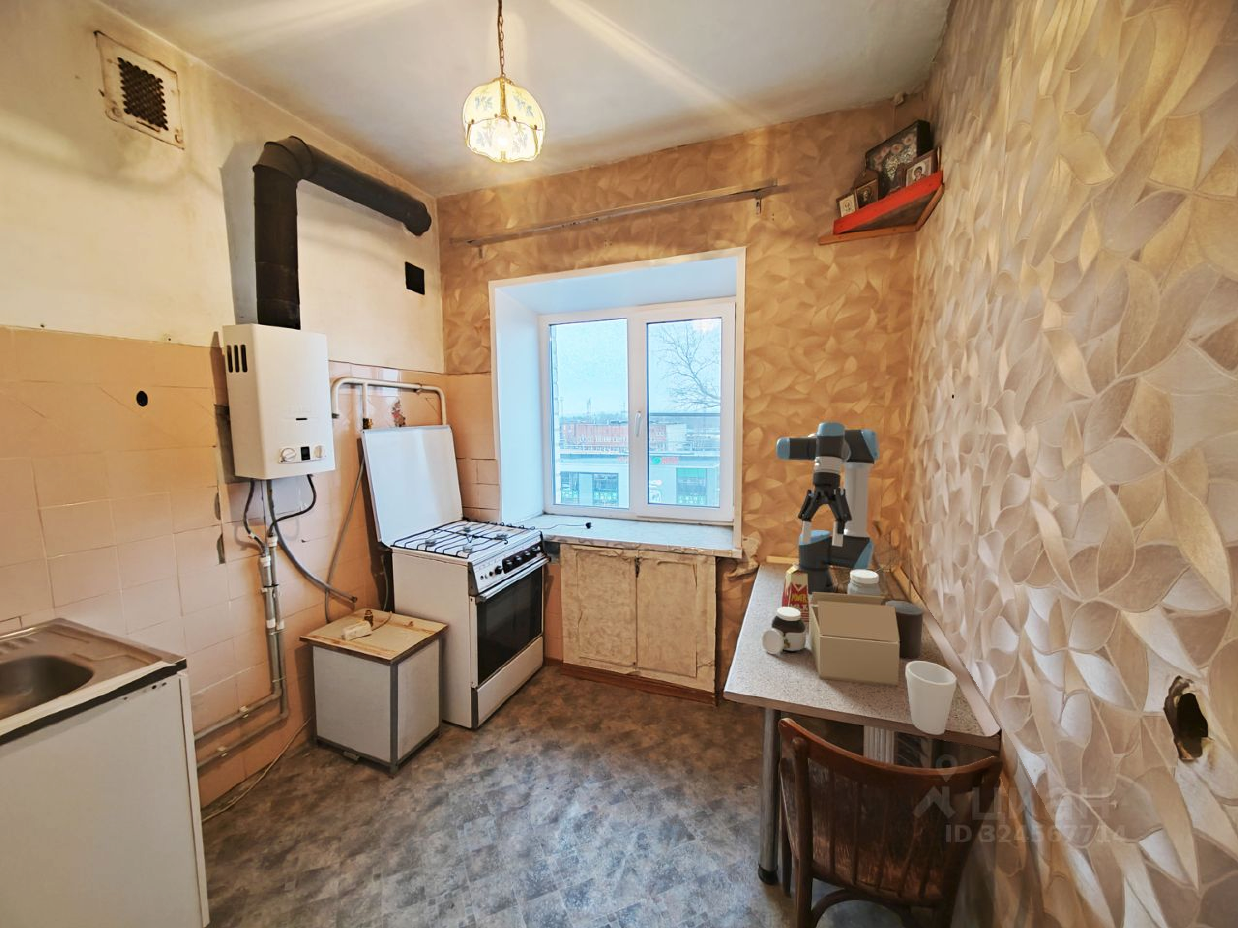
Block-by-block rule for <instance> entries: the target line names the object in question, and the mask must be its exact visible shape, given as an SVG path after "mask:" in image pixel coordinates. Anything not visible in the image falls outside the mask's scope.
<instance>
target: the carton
mask: <svg viewBox="0 0 1238 928" xmlns="http://www.w3.org/2000/svg"><path fill="white" fill-rule="evenodd" d="M808 644H809V647H810V650H811V654H812V657H813V661H814V664H815V667H816V671H817V675H818V678H819V679H822V680H831V681H840V682H848V683H857V684H866V685H876V686H883V687H884V686H885V687H893V688H899V671H900V669H899V667H900V657H899V647H900V644H899V643H898V642H896V641H885V640H874V639H863V638H852V637H841V636H830V635H820V627H819V614H818V605H813V604H809V625H808Z"/></svg>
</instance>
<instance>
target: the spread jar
mask: <svg viewBox="0 0 1238 928" xmlns="http://www.w3.org/2000/svg"><path fill="white" fill-rule="evenodd" d="M761 642H762V643H761V644H762V647H763V648H764V650H765V652H767V653H769V654H771V655H778V654H780V653H781V652H784V653H787V654H796V653H798V652H801V651H803V649H804V648H805V647H806V643H807V625H805V623H804V621H803V620H802V619H801V613H800V611H799V610H797V609H795V608H792V607H781V606H780V607H778V608H777V609H776V615H775V616H774V617H773V618H772V621H771V628H770V629H768V630H766V631H765V632H764V633H763V634H762V638H761Z"/></svg>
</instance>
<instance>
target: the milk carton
mask: <svg viewBox="0 0 1238 928" xmlns="http://www.w3.org/2000/svg"><path fill="white" fill-rule="evenodd" d="M798 568H799V565H796V564H794V562H793V563H792V566H791V567H790V568H789V569H788V570H786V572H785V578H784V582H783V588H782V596H781V605H780V607H792V608H795V609H797V610H799V611H800V613H801V619H802V620H803V621H804V623H805V625H806V626H809V605H810V599H809V598H810V596H809V593H808V578H807V573H805V572H803V571H801V570H799V569H798Z"/></svg>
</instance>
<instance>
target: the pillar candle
mask: <svg viewBox="0 0 1238 928" xmlns="http://www.w3.org/2000/svg"><path fill="white" fill-rule="evenodd" d="M884 606H894V607H895V614H896V620H897V627H898V633H899V640H900V642H898V643H899V644H900V647H899V659H900V658H901V659H903V660H904V659H905V660H914V659H916V660H917V659H919V658H920V657H921V652H922V651H921V650H922V636H923V634H922V633H923V619H924V617H923V616H924V610H923V609H922V607H920V606H919V605H916V604H913V603H910V602H906V601H901V600H890V601H887V602H885V604H884Z"/></svg>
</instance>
